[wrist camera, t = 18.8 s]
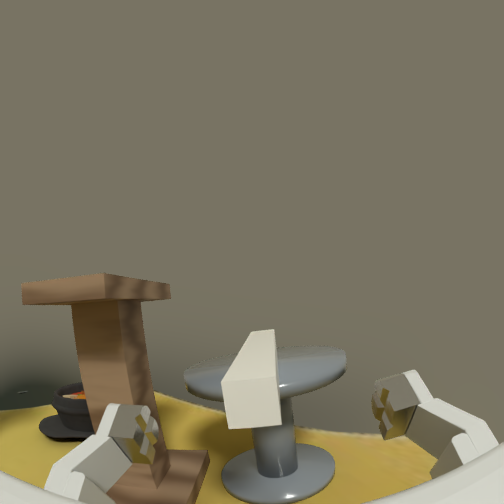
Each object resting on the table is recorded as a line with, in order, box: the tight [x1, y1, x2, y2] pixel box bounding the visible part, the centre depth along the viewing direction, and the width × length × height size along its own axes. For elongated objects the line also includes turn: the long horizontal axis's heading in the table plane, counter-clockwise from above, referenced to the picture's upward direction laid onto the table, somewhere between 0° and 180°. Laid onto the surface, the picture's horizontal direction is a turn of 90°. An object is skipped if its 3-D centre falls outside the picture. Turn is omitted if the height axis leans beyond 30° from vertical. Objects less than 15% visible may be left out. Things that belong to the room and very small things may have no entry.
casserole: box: [39, 383, 95, 438], centre depth 46 cm, size 25×19×8 cm
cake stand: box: [184, 346, 347, 504], centre depth 31 cm, size 18×18×16 cm
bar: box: [221, 329, 282, 429], centre depth 27 cm, size 24×3×3 cm, turn 176°
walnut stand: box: [22, 273, 210, 504], centre depth 29 cm, size 18×14×26 cm
